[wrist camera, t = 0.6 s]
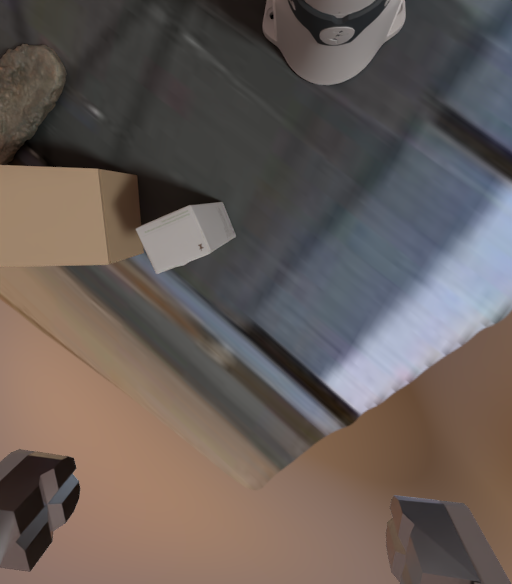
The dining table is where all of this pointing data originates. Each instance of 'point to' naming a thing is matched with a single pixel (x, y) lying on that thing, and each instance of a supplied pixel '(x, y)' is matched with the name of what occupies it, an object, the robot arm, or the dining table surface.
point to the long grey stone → (27, 94)
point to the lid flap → (51, 217)
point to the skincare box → (185, 235)
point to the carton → (121, 214)
